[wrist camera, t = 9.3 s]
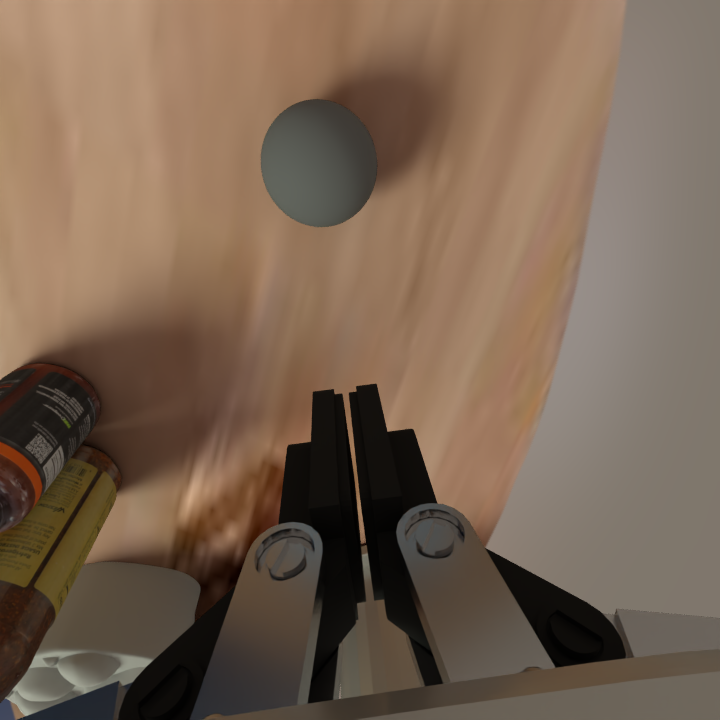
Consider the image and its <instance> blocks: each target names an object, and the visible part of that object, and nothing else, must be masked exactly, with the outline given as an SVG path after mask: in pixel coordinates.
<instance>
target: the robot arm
mask: <svg viewBox="0 0 720 720" xmlns="http://www.w3.org/2000/svg"><path fill="white" fill-rule="evenodd" d="M356 389H357V392H350V393H349V400H350V409H351V418H352V427H353V437H354V446H355V455H356V464H357V474H358V483H359V492H360V500H361V508H362V516H363V523H364V530H365V538H366V545H365V546H362V547H361V541H360V530H359V520H358V510H357V500H356V489H355V480H354V472H353V465H352V458H351V451H350V444H349V437H348V430H347V423H346V416H345V408H344V401H343V395H342V394H335V393H334V389H331V390H323V391H315V392H313V402H312V430H311V442H307V443H299V444H292V445H288V447H287V454H286V462H285V471H284V480H283V489H282V498H281V507H280V515H279V524H278V525H277V526H274V527H272V528H270V529H268V530H267V531H265V532H264V533H262V534H261V535H260V536H259V537H258V538H257V539H256V540H255V541H254V542H253V544H252V546H251V548H250V549H249V551H248V553H247V556H246V559H245V562H244V565H243V568H242V571H241V573H240V576H239V579H238V582H237V585H236V586H235V587H234V588H233V589H231V590H230V591H229V592H228V593H227V594H226V595H225V596H224V597H223V598H221V599H220V600H219V601H218V602H217V603H216V604H215V605H214V606H213V607H212V608H210V609H209V610H208V611H207V612H206V613H205V614H204V615H203V616H202V617H201V618H199V619H198V620H197V621H196V622H195V623H194V624H193V625H192V626H191V627H189V628H188V629H187V630H186V631H185V632H184V633H183V634H182V635H181V636H180V637H178V638H177V639H176V640H175V641H174V642H173V643H172V644H171V645H170V646H168V647H167V648H166V649H165V650H164V651H163V652H162V653H161V654H160V655H159V656H157V657H156V658H155V659H154V660H153V661H152V662H151V663H150V664H149V665H147V667H146V668H145V669H144V670H143V671H142V672H141V673H140V674H139V675H138V676H137V677H136V679H135V680H134V681H133V682H131V683H129V684H126V685H124V686H123V685H122V684H121V682H120V681H117V682H114V683H111V684H109V685H106V686H104V687H101V688H98V689H96V690H93V691H90V692H88V693H85V694H83V695H80V696H77V697H75V698H72V699H70V700H67V701H64V702H62V703H59V704H56V705H54V706H51V707H49V708H46V709H43V710H41V711H38V712H36V713H33V714H30V715H28V716H25V717H22V718H20V719H17V720H720V618H713V617H702V616H690V615H680V614H669V613H658V612H647V611H636V610H624V609H616V612H615V615H613V614H612V615H611V614H602V613H601V612H600V611H599V610H597V609H596V608H594V607H593V606H591V605H590V604H588V603H587V602H585V601H583V600H581V599H579V598H578V597H576V596H574V595H572V594H570V593H568V592H566V591H564V590H563V589H561V588H559V587H557V586H555V585H553V584H551V583H549V582H548V581H546V580H544V579H542V578H540V577H538V576H536V575H535V574H533V573H531V572H529V571H527V570H525V569H523V568H522V567H519V566H518V565H516V564H514V563H512V562H510V561H509V560H507V559H505V558H503V557H501V556H499V555H497V554H495V553H494V552H492V551H490V550H488V549H486V548H485V547H484V546H483V544H482V542H481V541H480V539H479V537H478V536H477V534H476V532H475V530H474V529H473V527H472V525H471V524H470V522H469V521H468V520H467V519H466V517H465V516H464V515H463V514H462V513H460V512H459V511H457V510H456V509H454V508H452V507H449V506H447V505H444V504H437V501H436V498H435V495H434V492H433V488H432V485H431V482H430V479H429V476H428V473H427V470H426V467H425V463H424V460H423V457H422V454H421V451H420V448H419V445H418V442H417V438H416V435H415V432H414V430H413V429H405V430H398V431H390V432H387V428H386V423H385V419H384V414H383V410H382V406H381V401H380V397H379V392H378V388H377V384H370V385H362V386H356ZM340 686H341V699H339V691H340Z"/></svg>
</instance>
